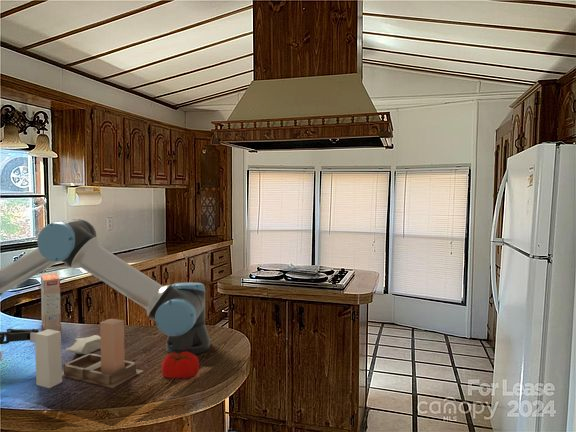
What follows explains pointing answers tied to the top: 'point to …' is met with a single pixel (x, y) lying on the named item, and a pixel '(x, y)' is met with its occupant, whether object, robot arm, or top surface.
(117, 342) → the salmon orange block
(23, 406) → the top surface
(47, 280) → the cracker box
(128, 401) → the top surface
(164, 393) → the top surface
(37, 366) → the white rectangular block
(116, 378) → the rack
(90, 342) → the rock
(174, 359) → the tomato
